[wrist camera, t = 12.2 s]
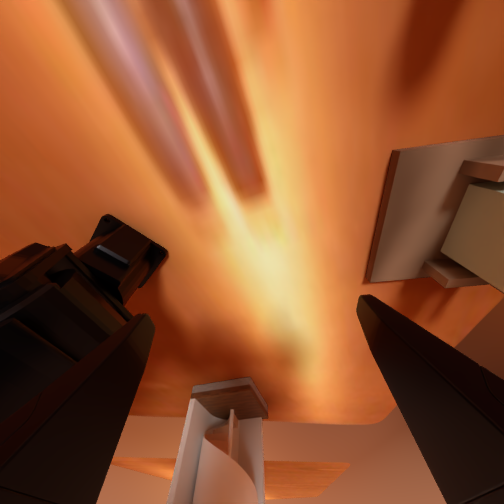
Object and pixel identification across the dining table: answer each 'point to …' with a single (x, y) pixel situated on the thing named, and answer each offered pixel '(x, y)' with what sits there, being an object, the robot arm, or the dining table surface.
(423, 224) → the book rack
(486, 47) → the dining table surface
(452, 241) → the book
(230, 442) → the beige rectangular tower
